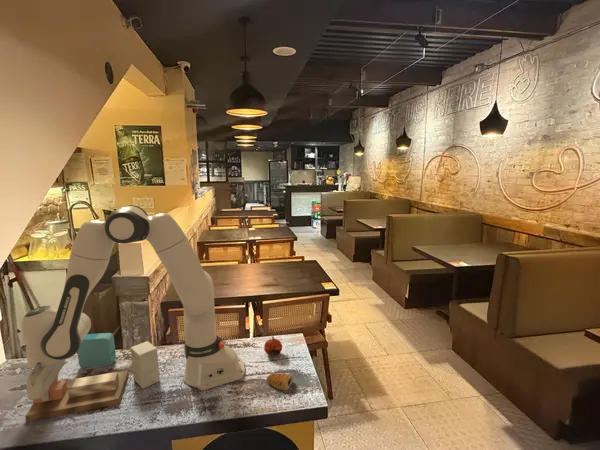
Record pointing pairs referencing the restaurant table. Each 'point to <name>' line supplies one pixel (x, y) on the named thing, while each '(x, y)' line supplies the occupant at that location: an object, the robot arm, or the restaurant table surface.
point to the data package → (97, 350)
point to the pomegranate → (273, 347)
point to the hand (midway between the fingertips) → (50, 393)
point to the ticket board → (83, 396)
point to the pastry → (280, 381)
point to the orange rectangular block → (55, 391)
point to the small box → (145, 364)
